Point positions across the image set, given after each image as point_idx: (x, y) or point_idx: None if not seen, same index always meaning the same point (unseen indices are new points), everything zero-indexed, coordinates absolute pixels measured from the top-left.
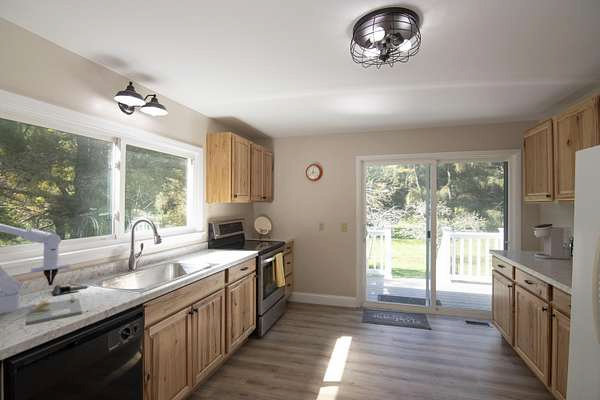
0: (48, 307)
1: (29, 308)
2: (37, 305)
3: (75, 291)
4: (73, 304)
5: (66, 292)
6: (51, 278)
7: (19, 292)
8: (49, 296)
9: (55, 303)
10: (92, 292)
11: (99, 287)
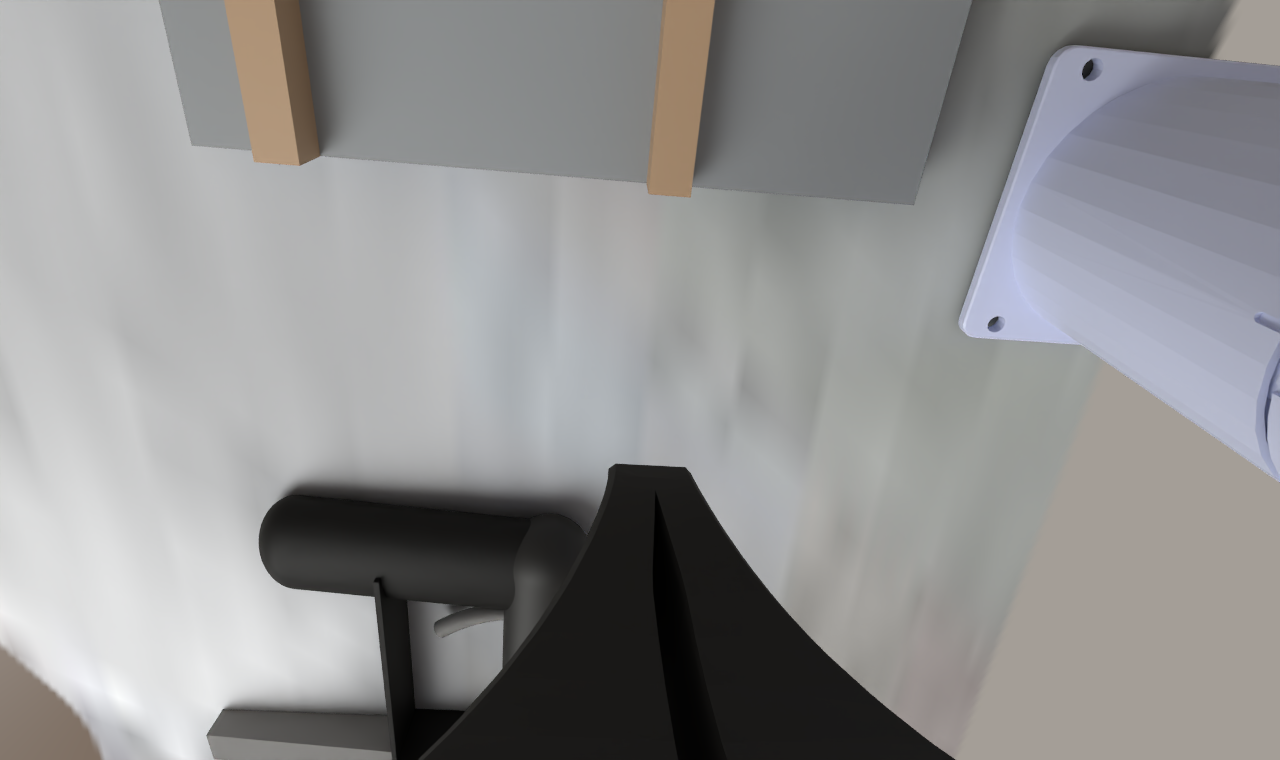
0: None
1: (956, 54)
2: None
3: (306, 561)
4: None
5: (420, 571)
6: (644, 592)
7: (1270, 358)
8: None
9: (571, 52)
10: (101, 497)
11: (62, 666)
